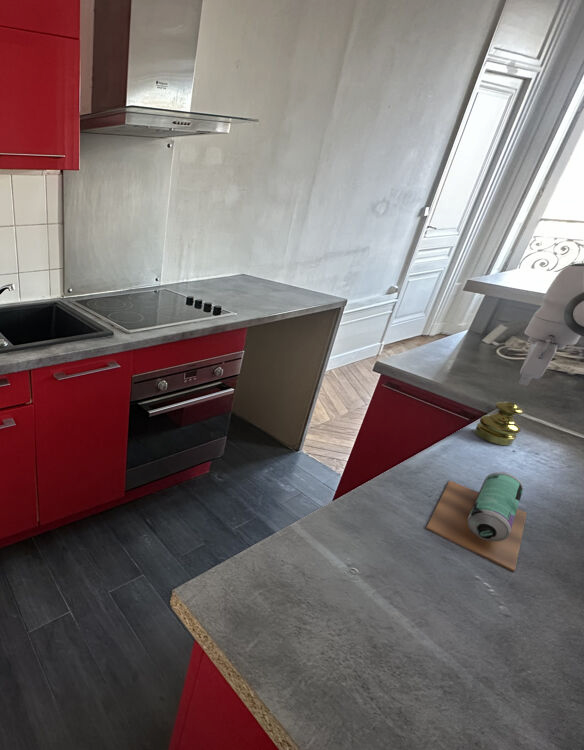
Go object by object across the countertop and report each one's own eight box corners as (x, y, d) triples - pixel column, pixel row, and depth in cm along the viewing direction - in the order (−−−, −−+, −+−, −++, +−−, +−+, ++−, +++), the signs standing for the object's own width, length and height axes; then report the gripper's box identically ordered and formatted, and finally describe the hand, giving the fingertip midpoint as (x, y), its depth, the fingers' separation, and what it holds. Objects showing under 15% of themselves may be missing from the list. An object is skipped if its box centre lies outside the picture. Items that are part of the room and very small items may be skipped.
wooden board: (448, 481, 88) (449, 480, 88) (526, 514, 80) (527, 512, 80) (425, 528, 76) (426, 526, 76) (513, 572, 68) (515, 570, 68)
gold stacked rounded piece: (466, 427, 107) (484, 394, 103) (497, 430, 107) (516, 397, 102) (487, 444, 101) (507, 409, 96) (520, 447, 100) (542, 412, 96)
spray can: (478, 485, 86) (456, 533, 74) (495, 466, 83) (475, 513, 71) (511, 503, 82) (494, 555, 71) (530, 484, 79) (516, 535, 68)
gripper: (570, 345, 89) (537, 400, 95) (573, 326, 101) (543, 376, 107) (530, 337, 93) (500, 390, 99) (538, 319, 105) (511, 368, 112)
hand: (523, 383), depth 103 cm, fingers closed
